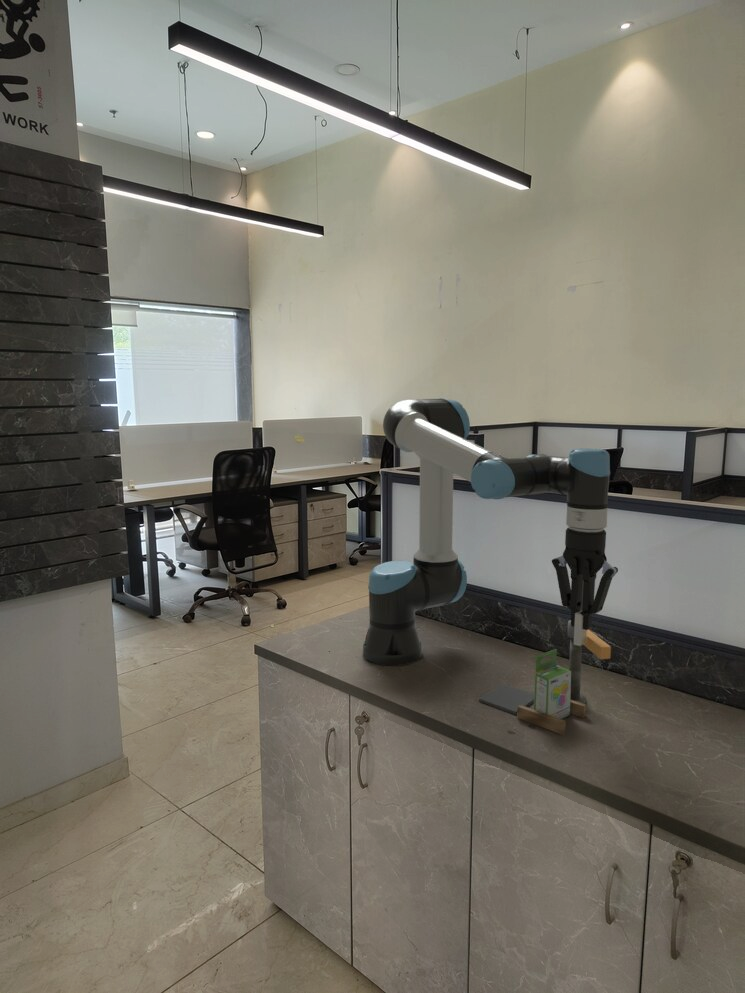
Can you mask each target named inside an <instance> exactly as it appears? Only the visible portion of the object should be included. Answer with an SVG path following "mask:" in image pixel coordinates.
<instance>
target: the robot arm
mask: <svg viewBox="0 0 745 993" xmlns="http://www.w3.org/2000/svg"><path fill="white" fill-rule="evenodd" d="M468 414H469V413H468V412H467V409H466V408H465V407H464V406H463V404H461V403H460V402H459V401H457V400H456V399H453V398H452V399H451V398H449V399H448V398H442V397H441V398H416V399H415V398H406V399H402V400H399V401H398V402H395V403H394V404H392V405H391V406H390V408H388V410H386V413H385V414H384V417H383V420H382V429H383V430H382V431H383V433H384V435H385V437H386V440H387V441H388V442H389V443H390V444H391V445H393V446H394V447H396V448H397V449H399V450H401V451H403V452H406V453H414V454H415V455H416V457H418V459H419V534H418V535H419V542H418V543H419V544H418V545H419V548H418V550H417V551H416V552H415V553H414V554H413V562H411V561H408V560H395V561H394V560H391V561H385V562H383V563H382V562H381V563H379V564H378V565H376V566H375V567H372V569H371V571H370V573H369V577H368V578H369V579H368V585H367V586H368V600H369V602H368V605H369V607H368V608H369V625H368V629H367V631H366V635H365V640H364V642H363V645H362V656H363V658H364V659H365V660H367V661H369V662H370V663H374V664H377V665H382V666H403V665H404V666H405V665H408V664H412V663H414V662H417V661H418V660H420V658H422V656H423V655H422V654H423V645H422V643H421V641H420V638H419V634H418V630H417V627H416V612H417V611H422V610H427V609H431V608H435V607H441V606H447V605H449V604H452V603H455V602H457V601H458V600H460V599H461V598H462V596H464V594H465V591H466V589H467V583H468V576H467V571H466V570H464V569H465V566H464V565H463V562H461V561H460V560H459V557H458V556H459V555H458V554H457V553H456V552H455V551H454V549H453V525H454V523H453V519H454V515H453V514H454V511H453V510H454V508H453V507H454V498H453V497H454V474H455V475H457V476H458V477H459V478H462V479H464V480H465V481H468V482H470V484H471V487H472V490H474V491H475V494H476V495H477V496H478V497H479V498H480V499H485V500H490V499H491V500H502V499H505V498H510V497H511V498H512V497H519V496H528V495H537V494H538V495H539V494H545V493H546V494H547V493H548V494H549V493H550V494H558V495H562V496H566V518H565V519H566V521H565V522H566V523H565V524H566V526H567V528H566V529H565V539H564V545H565V546H564V547H565V548H564V550H563V552H562V555H560V556H557V557H555V558H553V559H552V560H551V563H552V565H553V567H554V569H555V572H556V577H557V578H556V579H557V585H558V589H559V594H560V599H561V605H562V607H565V608H568V609H569V611H570V620H571V626H572V627H574V645H578V646H581V645H582V646H584V645H583V644H585V643H586V639H587V630H588V629H589V630H590V629H591V628H592V623H593V622H592V621H593V619H592V618H593V615H595V614H598V613H599V612H601V611H602V610H603V608H604V605H605V601H606V599H607V595H608V592H609V590H610V585H611V583H612V580H613V578H614V577H615V576H616V574H617V573H618V571H619V568H618V567H616V566H613V565H612V564H610V563H609V562H608V561H607V560H608V558H607V556H606V553H605V551H606V545H607V544H606V543H607V542H606V541H607V531H606V530H605V529H606V528H607V527H608V526H607V525H608V497H609V487H610V486H609V485H610V476H611V469H610V468H611V464H610V462H611V460H610V456H611V455H610V453H609V451H607V450H605V449H601V448H573V449H571V450H570V451H569V454H568V455H569V456H568V457H565V456H556V455H547V454H543V453H541V454H540V453H539V454H529V455H527V456H526V457H513V458H507V457H505V456H503V455H500V454H498V453H495V452H494V451H491V450H489V449H487V448H485V447H483V446H481V445H479V444H477V443H474V442H473V441H470V440H468V438H467V437H469V435H470V428H471V422H470V418H469V415H468ZM567 566H568V567H569V569H570V576H569V571H568V568H567ZM601 569H602V570H601ZM600 570H601V574H602V576H601V578H600V580H599V584H598V587H597V590H596V593H595V589H596V588H595V587H596V586H595V585H596V579H597V573H598V572H599V571H600ZM570 578H571V580H570ZM570 581H571V583H570Z"/></svg>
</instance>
